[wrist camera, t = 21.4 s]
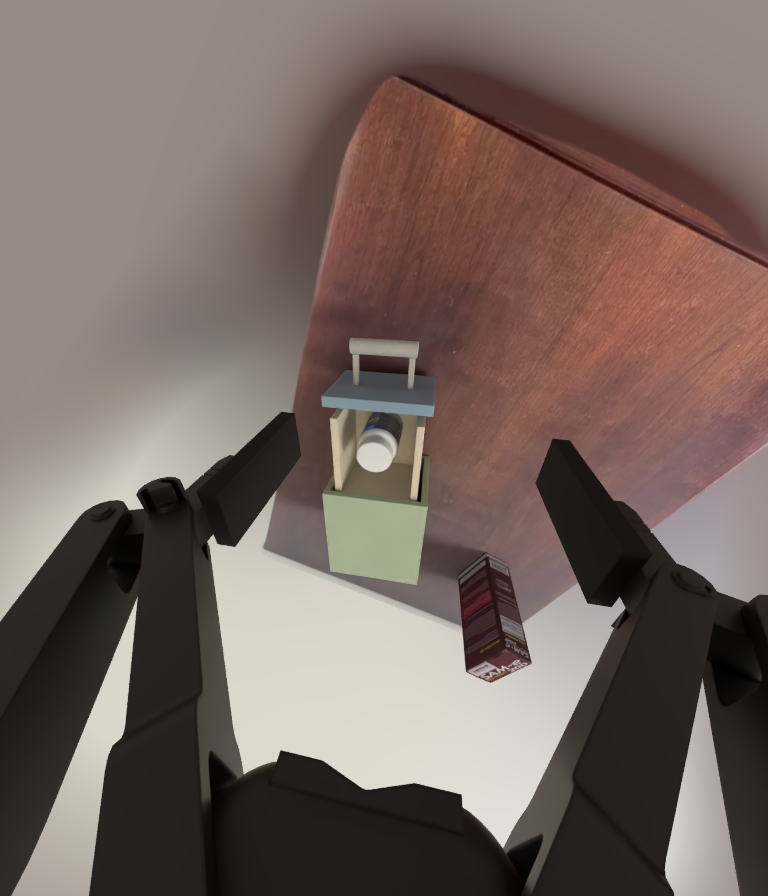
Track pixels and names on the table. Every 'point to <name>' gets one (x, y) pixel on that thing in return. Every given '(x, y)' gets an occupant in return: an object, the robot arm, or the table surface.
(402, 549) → the green box-shaped shell
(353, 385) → the drawer
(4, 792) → the robot arm
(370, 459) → the pill bottle
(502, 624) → the supplement box
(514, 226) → the table surface
